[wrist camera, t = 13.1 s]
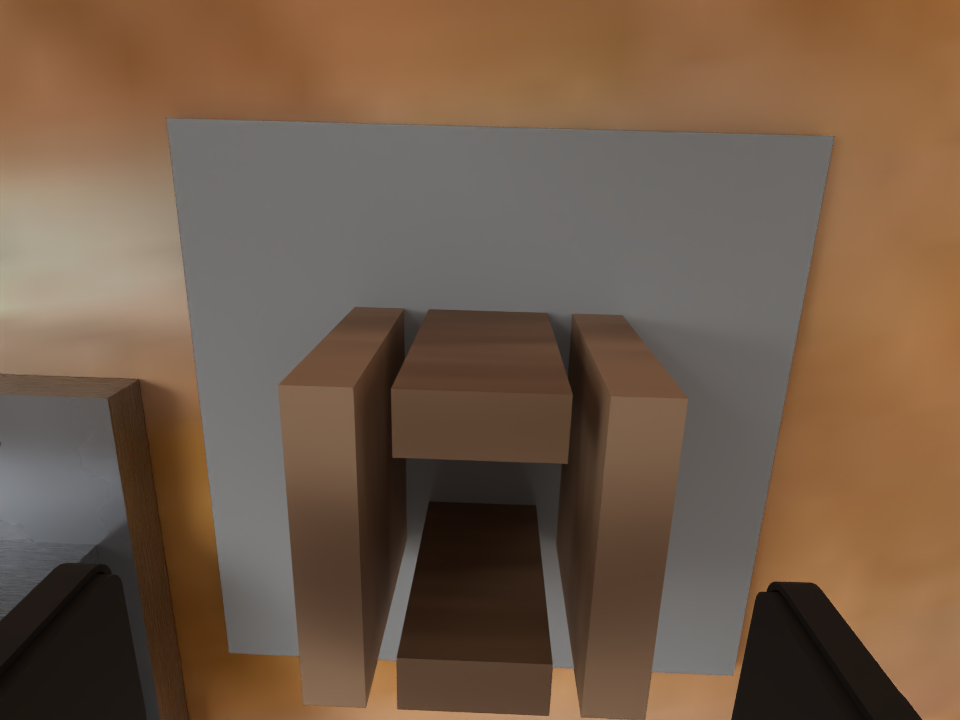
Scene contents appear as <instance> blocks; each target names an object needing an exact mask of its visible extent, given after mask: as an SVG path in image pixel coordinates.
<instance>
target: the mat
mask: <svg viewBox="0 0 960 720" xmlns="http://www.w3.org/2000/svg"><path fill="white" fill-rule="evenodd" d="M166 120H167V129H168V137H169V146H170V154H171V163H172V171H173V180H174V188H175V197H176V205H177V214H178V222H179V231H180V239H181V248H182V256H183V265H184V273H185V282H186V290H187V299H188V307H189V316H190V324H191V333H192V341H193V350H194V358H195V367H196V375H197V384H198V392H199V401H200V409H201V418H202V426H203V435H204V443H205V452H206V461H207V469H208V478H209V486H210V495H211V503H212V512H213V520H214V529H215V537H216V546H217V554H218V563H219V571H220V580H221V588H222V597H223V605H224V614H225V622H226V631H227V639H228V648H229V653H237V654H260V655H282V656H299V647H298V635H297V622H296V609H295V597H294V584H293V571H292V559H291V546H290V533H289V520H288V508H287V495H286V482H285V470H284V457H283V444H282V432H281V419H280V406H279V394H278V384H279V383H280V382H281V381H282V380H283V379H284V378H285V377H286V376H287V375H288V374H289V373H290V372H291V371H292V370H293V369H294V368H295V367H296V366H297V365H298V364H299V363H300V362H301V361H302V360H303V359H304V358H305V357H306V356H307V355H308V354H309V353H310V352H311V351H312V350H313V349H314V348H315V347H316V346H317V345H318V344H319V343H320V342H321V341H322V340H323V339H324V338H325V337H326V336H327V335H328V334H329V333H330V332H331V331H332V330H333V328H334V327H335V326H336V325H337V324H338V323H339V322H340V321H341V320H342V319H343V318H344V317H345V316H346V315H347V314H348V313H349V312H350V311H351V310H352V309H353V308H354V307H375V308H404V339H405V358H406V356H407V354H408V352H409V350H410V348H411V346H412V344H413V341H414V339H415V337H416V335H417V333H418V331H419V329H420V327H421V325H422V322H423V320H424V318H425V316H426V314H427V312H428V310H429V309H441V310H473V311H506V312H539V313H548V316H549V320H550V323H551V326H552V329H553V333H554V336H555V339H556V342H557V345H558V349H559V352H560V355H561V358H562V362H563V365H564V368H565V371H566V375H567V378H568V368H569V354H570V340H571V325H572V314H604V315H623V316H624V318H625V319H626V320H627V321H628V323H629V324H630V325H631V327H632V328H633V329H634V330H635V332H636V333H637V334H638V335H639V337H640V338H641V339H642V341H643V342H644V343H645V344H646V346H647V347H648V348H649V349H650V351H651V352H652V353H653V355H654V356H655V357H656V358H657V360H658V361H659V362H660V363H661V365H662V366H663V367H664V368H665V370H666V371H667V372H668V374H669V375H670V376H671V377H672V379H673V380H674V381H675V382H676V384H677V385H678V386H679V388H680V389H681V390H682V391H683V393H684V394H685V395H686V396H687V398H688V405H687V412H686V420H685V427H684V434H683V442H682V449H681V457H680V464H679V472H678V479H677V487H676V494H675V502H674V509H673V516H672V524H671V531H670V539H669V546H668V554H667V561H666V569H665V576H664V583H663V591H662V598H661V606H660V613H659V621H658V628H657V636H656V643H655V650H654V658H653V665H652V672H663V673H685V674H708V675H730V676H733V674H734V669H735V664H736V658H737V653H738V648H739V642H740V637H741V632H742V626H743V621H744V616H745V610H746V605H747V600H748V594H749V589H750V584H751V578H752V573H753V568H754V562H755V557H756V552H757V546H758V541H759V536H760V530H761V525H762V520H763V514H764V509H765V504H766V498H767V493H768V488H769V482H770V477H771V472H772V466H773V461H774V455H775V450H776V445H777V439H778V434H779V429H780V423H781V418H782V413H783V407H784V402H785V397H786V391H787V386H788V381H789V375H790V370H791V365H792V359H793V354H794V349H795V343H796V338H797V333H798V327H799V322H800V317H801V311H802V306H803V301H804V295H805V290H806V285H807V279H808V274H809V269H810V263H811V258H812V253H813V247H814V242H815V237H816V231H817V226H818V221H819V215H820V210H821V205H822V199H823V194H824V189H825V183H826V178H827V173H828V167H829V162H830V157H831V151H832V146H833V141H834V136H814V135H777V134H740V133H703V132H666V131H629V130H592V129H555V128H518V127H481V126H444V125H407V124H370V123H333V122H296V121H259V120H222V119H185V118H166ZM561 467H562V464H557V463H529V462H501V461H473V460H445V459H417V458H406V493H407V542H406V546H405V550H404V554H403V558H402V562H401V566H400V571H399V575H398V579H397V583H396V587H395V591H394V595H393V599H392V603H391V607H390V611H389V616H388V620H387V624H386V628H385V632H384V636H383V640H382V644H381V648H380V652H379V657H378V660H394V661H397V653H398V648H399V644H400V639H401V634H402V629H403V624H404V619H405V615H406V610H407V605H408V600H409V595H410V590H411V586H412V581H413V576H414V571H415V566H416V562H417V557H418V552H419V547H420V542H421V537H422V533H423V528H424V523H425V518H426V513H427V508H428V504H429V501H432V502H459V503H486V504H513V505H536V509H537V518H538V528H539V537H540V547H541V557H542V566H543V576H544V585H545V595H546V604H547V614H548V623H549V633H550V642H551V652H552V661H553V668H573V669H574V666H573V659H572V652H571V645H570V638H569V631H568V624H567V618H566V611H565V604H564V597H563V590H562V583H561V576H560V569H559V563H558V556H557V549H556V537H557V523H558V509H559V495H560V481H561Z"/></svg>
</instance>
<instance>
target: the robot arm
mask: <svg viewBox="0 0 960 720" xmlns="http://www.w3.org/2000/svg"><path fill="white" fill-rule="evenodd" d="M0 720H146V709H145V704H144V699H143V693H142V688H141V682H140V677H139V671H138V666H137V661H136V655H135V650H134V644H133V639H132V634H131V628H130V623H129V617H128V612H127V606H126V601H125V596H124V590H123V585H122V581H121V578H120V577H119V576H118V575H115V574H112V572H111V569H110V568H109V567H108V566H107V565H105V564H93V563H63V564H60V565H58V566H57V567H56V568H54V569H53V570H52V571H51V572H50V573H49V574H48V575H47V576H46V577H45V578H44V579H43V580H42V581H41V582H40V583H39V584H38V585H37V586H36V587H35V588H34V589H33V590H32V591H31V592H30V593H29V594H28V595H26V596H25V597H24V598H23V599H22V600H21V601H20V602H19V603H18V604H17V605H16V606H15V607H14V608H13V609H12V610H11V611H10V612H9V613H8V614H7V615H6V616H5V617H4V618H3V619H2V620H1V621H0ZM731 720H922V719H921V718H920V716H919V715H918V714H917V712H916V711H915V710H914V708H913V707H912V706H911V705H910V703H909V702H908V701H907V699H906V698H905V697H904V696H903V695H902V694H901V693H900V692H899V691H898V689H897V688H896V687H895V685H894V684H893V683H892V681H891V680H890V679H889V678H888V676H887V675H886V674H885V672H884V671H883V670H882V668H881V667H880V666H879V664H878V663H877V662H876V661H875V659H874V658H873V657H872V655H871V654H870V653H869V651H868V650H867V649H866V648H865V646H864V645H863V644H862V642H861V641H860V640H859V638H858V637H857V636H856V634H855V633H854V632H853V631H852V629H851V628H850V627H849V625H848V624H847V623H846V621H845V620H844V619H843V617H842V616H841V615H840V614H839V612H838V611H837V610H836V608H835V607H834V606H833V604H832V603H831V602H830V601H829V599H828V598H827V597H826V595H825V594H824V593H823V591H822V590H821V589H820V588H819V587H818V586H817V585H816V584H813V583H804V582H773V583H771V584H770V585H769V586H768V589H767V592H759V593H758V595H757V596H756V600H755V604H754V609H753V614H752V619H751V624H750V629H749V634H748V639H747V644H746V649H745V654H744V659H743V664H742V669H741V674H740V679H739V684H738V689H737V694H736V699H735V704H734V709H733V714H732V719H731Z"/></svg>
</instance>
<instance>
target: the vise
mask: <svg viewBox="0 0 960 720" xmlns="http://www.w3.org/2000/svg"><path fill="white" fill-rule="evenodd" d="M63 563H93V564H105V565H107V566H108V567H109V568H110V569H111V572H112V574H115V575H118V576H119V577H120V578H121V581H122V585H123V590H124V596H125V601H126V606H127V612H128V617H129V623H130V628H131V634H132V639H133V644H134V650H135V655H136V661H137V666H138V671H139V677H140V682H141V688H142V693H143V699H144V704H145V709H146V720H189V718H188V712H187V705H186V698H185V691H184V684H183V678H182V671H181V664H180V657H179V651H178V644H177V637H176V630H175V623H174V617H173V610H172V603H171V596H170V590H169V583H168V576H167V569H166V563H165V556H164V549H163V542H162V535H161V529H160V522H159V515H158V508H157V502H156V495H155V488H154V481H153V475H152V468H151V461H150V454H149V447H148V441H147V434H146V427H145V420H144V414H143V407H142V400H141V393H140V386H139V380H138V379H113V378H85V377H57V376H29V375H1V374H0V621H1V620H2V619H3V618H4V617H5V616H6V615H7V614H8V613H9V612H10V611H11V610H12V609H13V608H14V607H15V606H16V605H17V604H18V603H19V602H20V601H21V600H22V599H23V598H24V597H25V596H26V595H28V594H29V593H30V592H31V591H32V590H33V589H34V588H35V587H36V586H37V585H38V584H39V583H40V582H41V581H42V580H43V579H44V578H45V577H46V576H47V575H48V574H49V573H50V572H51V571H52V570H53V569H54V568H56V567H57V566H58V565H60V564H63Z"/></svg>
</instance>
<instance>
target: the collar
mask: <svg viewBox="0 0 960 720" xmlns="http://www.w3.org/2000/svg"><path fill="white" fill-rule="evenodd" d="M278 394H279V406H280V419H281V432H282V444H283V457H284V470H285V482H286V495H287V508H288V520H289V533H290V546H291V559H292V571H293V584H294V597H295V609H296V622H297V635H298V647H299V660H300V673H301V686H302V698H303V705H313V706H336V707H358V708H366V706H367V702H368V697H369V693H370V689H371V685H372V681H373V677H374V673H375V669H376V665H377V661H378V657H379V652H380V648H381V644H382V640H383V636H384V632H385V628H386V624H387V620H388V616H389V611H390V607H391V603H392V599H393V595H394V591H395V587H396V583H397V579H398V575H399V571H400V566H401V562H402V558H403V554H404V550H405V546H406V542H407V493H406V458H417V459H445V460H473V461H501V462H529V463H557V464H562V467H561V481H560V495H559V509H558V523H557V537H556V549H557V556H558V563H559V569H560V576H561V583H562V590H563V597H564V604H565V611H566V618H567V624H568V631H569V638H570V645H571V652H572V659H573V666H574V673H575V679H576V686H577V693H578V700H579V707H580V714H581V717H585V718H607V719H630V720H645V718H646V710H647V703H648V695H649V688H650V680H651V673H652V665H653V658H654V650H655V643H656V636H657V628H658V621H659V613H660V606H661V598H662V591H663V583H664V576H665V569H666V561H667V554H668V546H669V539H670V531H671V524H672V516H673V509H674V502H675V494H676V487H677V479H678V472H679V464H680V457H681V449H682V442H683V434H684V427H685V420H686V412H687V405H688V398H687V396H686V395H685V394H684V393H683V391H682V390H681V389H680V388H679V386H678V385H677V384H676V382H675V381H674V380H673V379H672V377H671V376H670V375H669V374H668V372H667V371H666V370H665V368H664V367H663V366H662V365H661V363H660V362H659V361H658V360H657V358H656V357H655V356H654V355H653V353H652V352H651V351H650V349H649V348H648V347H647V346H646V344H645V343H644V342H643V341H642V339H641V338H640V337H639V335H638V334H637V333H636V332H635V330H634V329H633V328H632V327H631V325H630V324H629V323H628V321H627V320H626V319H625V318H624V316H623V315H604V314H572V325H571V340H570V354H569V368H568V378H567V375H566V371H565V368H564V365H563V362H562V358H561V355H560V352H559V349H558V345H557V342H556V339H555V336H554V333H553V329H552V326H551V323H550V320H549V316H548V313H539V312H506V311H473V310H441V309H429V310H428V312H427V314H426V316H425V318H424V320H423V322H422V325H421V327H420V329H419V331H418V333H417V335H416V337H415V339H414V341H413V344H412V346H411V348H410V350H409V352H408V354H407V356H406V358H405V339H404V308H375V307H354V308H353V309H352V310H351V311H350V312H349V313H348V314H347V315H346V316H345V317H344V318H343V319H342V320H341V321H340V322H339V323H338V324H337V325H336V326H335V327H334V328H333V330H332V331H331V332H330V333H329V334H328V335H327V336H326V337H325V338H324V339H323V340H322V341H321V342H320V343H319V344H318V345H317V346H316V347H315V348H314V349H313V350H312V351H311V352H310V353H309V354H308V355H307V356H306V357H305V358H304V359H303V360H302V361H301V362H300V363H299V364H298V365H297V366H296V367H295V368H294V369H293V370H292V371H291V372H290V373H289V374H288V375H287V376H286V377H285V378H284V379H283V380H282V381H281V382H280V383H279V384H278ZM552 669H553V661H552V652H551V642H550V633H549V623H548V614H547V604H546V595H545V585H544V576H543V566H542V557H541V547H540V537H539V528H538V518H537V509H536V505H513V504H486V503H459V502H432V501H429V504H428V508H427V513H426V518H425V523H424V528H423V533H422V537H421V542H420V547H419V552H418V557H417V562H416V566H415V571H414V576H413V581H412V586H411V590H410V595H409V600H408V605H407V610H406V615H405V619H404V624H403V629H402V634H401V639H400V644H399V648H398V653H397V707H398V709H404V710H426V711H449V712H472V713H494V714H517V715H539V716H549V710H550V696H551V683H552Z"/></svg>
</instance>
